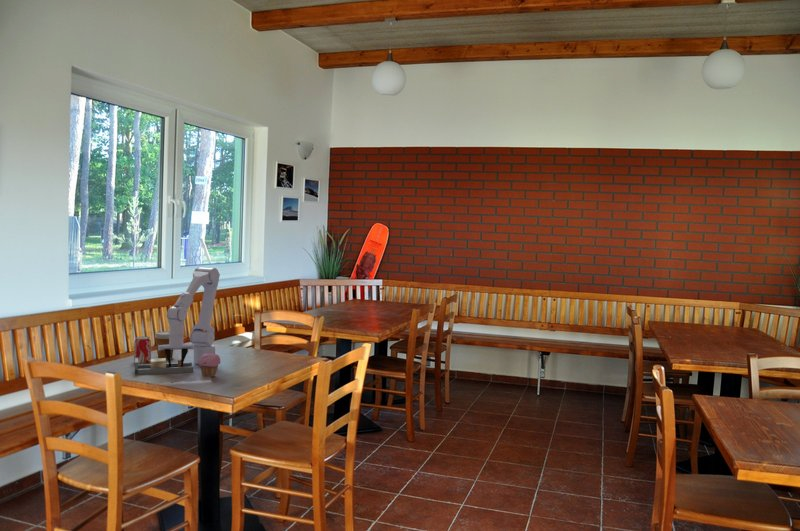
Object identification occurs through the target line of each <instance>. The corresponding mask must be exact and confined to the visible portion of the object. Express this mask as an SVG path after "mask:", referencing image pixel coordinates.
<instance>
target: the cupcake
mask: <svg viewBox="0 0 800 531" xmlns="http://www.w3.org/2000/svg"><path fill="white" fill-rule="evenodd" d="M220 357H221V356H220V355H218V354H216V353H215V354H213V353H205V354H203V355H202V357H200V359H199V364H198V365H199V366H200V369H201V376H208V377H209V376H210V378H214V377H215V376H216V375H217V370H218V367H219V366H220V364H221V358H220Z"/></svg>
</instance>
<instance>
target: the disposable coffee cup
mask: <svg viewBox="0 0 800 531" xmlns="http://www.w3.org/2000/svg"><path fill="white" fill-rule="evenodd" d="M154 338H155V342H156V352H157V353H156V354H157V359H159V358H166V360H168V359H167V356H166V354H165V352H164V350H158V345H168V344H169V331H168V330H166V331H158V332H157V331H156V332H155V335H154ZM173 356H174V350H171V359H173Z"/></svg>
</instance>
